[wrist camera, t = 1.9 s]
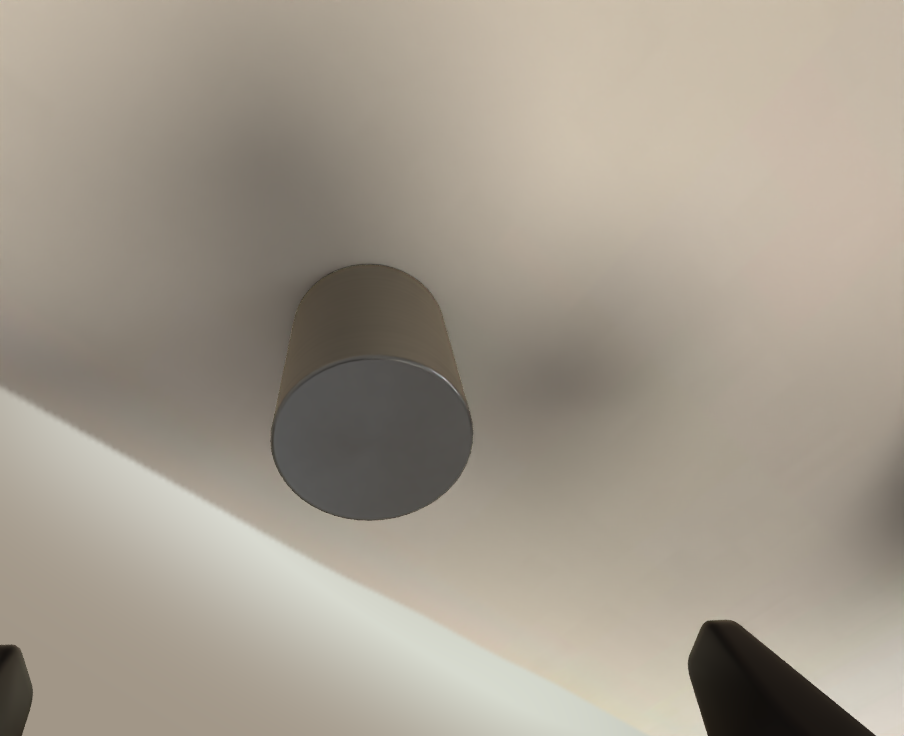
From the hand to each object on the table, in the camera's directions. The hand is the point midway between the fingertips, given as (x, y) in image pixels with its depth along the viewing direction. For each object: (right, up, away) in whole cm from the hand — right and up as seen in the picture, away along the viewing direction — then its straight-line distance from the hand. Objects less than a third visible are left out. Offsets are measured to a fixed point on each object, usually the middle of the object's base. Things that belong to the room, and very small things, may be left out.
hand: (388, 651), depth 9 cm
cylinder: (-1, +5, +8) cm, 10 cm away
